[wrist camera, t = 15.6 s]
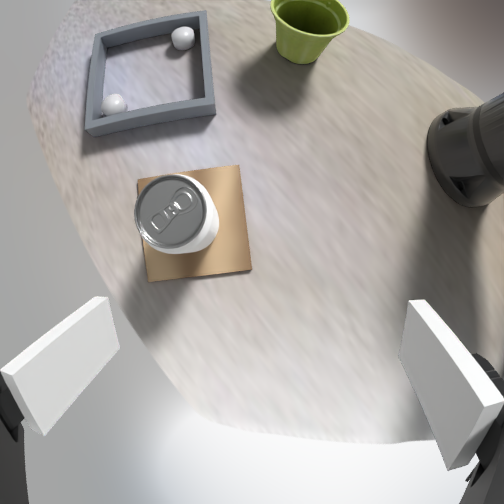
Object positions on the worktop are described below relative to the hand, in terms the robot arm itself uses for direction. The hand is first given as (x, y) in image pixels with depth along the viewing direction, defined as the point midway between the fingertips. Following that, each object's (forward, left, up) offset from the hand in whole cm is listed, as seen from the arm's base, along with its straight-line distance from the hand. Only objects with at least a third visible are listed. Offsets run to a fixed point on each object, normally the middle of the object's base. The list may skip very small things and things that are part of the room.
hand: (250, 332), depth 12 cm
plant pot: (-12, -30, -23) cm, 39 cm away
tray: (+8, -28, -23) cm, 37 cm away
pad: (+4, -7, -23) cm, 24 cm away
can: (+5, -7, -23) cm, 24 cm away
